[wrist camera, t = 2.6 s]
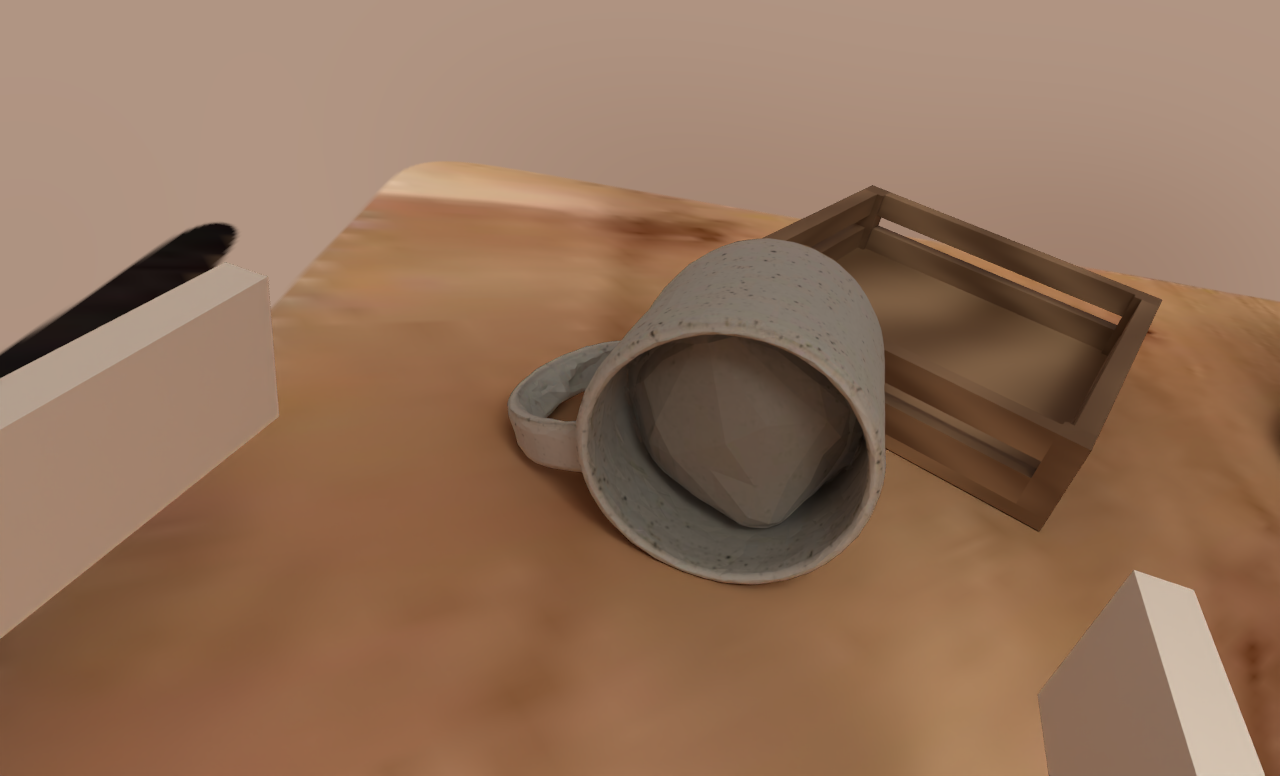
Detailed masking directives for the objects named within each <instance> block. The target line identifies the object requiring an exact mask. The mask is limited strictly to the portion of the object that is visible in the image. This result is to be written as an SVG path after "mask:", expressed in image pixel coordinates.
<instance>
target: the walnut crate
mask: <svg viewBox="0 0 1280 776" xmlns="http://www.w3.org/2000/svg"><path fill="white" fill-rule="evenodd" d="M881 217H882V218H884V219H887V220H889V221H891V222H894V223H896V224H899V225H901V226H903V227H906V228H909V229H911V230H913V231H916V232H918V233H920V234H923V235H925V236H928V237H930V238H933V239H935V240H937V241H940V242H942V243H945V244H947V245H950V246H952V247H954V248H957V249H959V250H962V251H964V252H967V253H969V254H971V255H974V256H976V257H979V258H981V259H984V260H986V261H988V262H991V263H993V264H996V265H998V266H1001V267H1003V268H1005V269H1008V270H1010V271H1013V272H1015V273H1018V274H1020V275H1022V276H1025V277H1027V278H1030V279H1032V280H1035V281H1037V282H1039V283H1042V284H1044V285H1047V286H1049V287H1052V288H1054V289H1056V290H1059V291H1061V292H1064V293H1066V294H1069V295H1071V296H1073V297H1076V298H1078V299H1081V300H1083V301H1086V302H1088V303H1090V304H1093V305H1095V306H1098V307H1100V308H1103V309H1105V310H1107V311H1110V312H1112V313H1115V314H1117V315H1120V316H1122V318H1121V320H1120V322H1119V323H1118V325H1115V324H1113V323H1111V322H1108V321H1106V320H1103V319H1101V318H1099V317H1096V316H1094V315H1091V314H1089V313H1087V312H1084V311H1082V310H1079V309H1077V308H1075V307H1072V306H1070V305H1067V304H1065V303H1063V302H1060V301H1058V300H1055V299H1053V298H1051V297H1048V296H1046V295H1043V294H1041V293H1039V292H1036V291H1034V290H1031V289H1029V288H1027V287H1024V286H1022V285H1020V284H1017V283H1015V282H1012V281H1010V280H1008V279H1005V278H1003V277H1000V276H998V275H996V274H993V273H991V272H988V271H986V270H984V269H981V268H979V267H976V266H974V265H972V264H969V263H967V262H964V261H962V260H960V259H957V258H955V257H952V256H950V255H948V254H945V253H943V252H940V251H938V250H936V249H933V248H931V247H928V246H926V245H924V244H921V243H919V242H916V241H914V240H912V239H909V238H907V237H904V236H902V235H900V234H897V233H895V232H892V231H890V230H888V229H885V228H883V227H880V226H878V225H879V222H880V219H881ZM764 238H771V239H779V240H785V241H790V242H795V243H799V244H803V245H807V246H809V247H811V248H813V249H815V250H817V251H819V252H821V253H823V254H825V255H826V256H828V257H830V258H832V259H834V260H835V261H836V262H837V263H838V264H840V265H841V266H842V267H843V268H844V269H845V270H846V271H847V272H848V273H849V274H850V275H851V276H852V277H853V278H854V279H855V280H856V281H857V282H858V284H859V285H860V287H861V288H862V290H863V291H864V293H865V294H866V296H867V297H868V299H869V301H870V303H871V306H872V308H873V310H874V312H875V314H876V316H877V318H878V321H879V324H880V327H881V330H882V336H883V343H884V357H885V385H884V394H885V448H887V449H888V450H890V451H892V452H894V453H896V454H898V455H900V456H901V457H903V458H905V459H907V460H909V461H911V462H912V463H914V464H916V465H918V466H920V467H922V468H923V469H925V470H927V471H929V472H931V473H933V474H935V475H936V476H938V477H940V478H942V479H944V480H946V481H947V482H949V483H951V484H953V485H955V486H957V487H959V488H960V489H962V490H964V491H966V492H968V493H970V494H971V495H973V496H975V497H977V498H979V499H981V500H982V501H984V502H986V503H988V504H990V505H992V506H994V507H995V508H997V509H999V510H1001V511H1003V512H1005V513H1006V514H1008V515H1010V516H1012V517H1014V518H1016V519H1018V520H1019V521H1021V522H1023V523H1025V524H1027V525H1029V526H1030V527H1032V528H1034V529H1036V530H1038V531H1040V530H1041V528H1042V527H1043V525H1044V524H1045V522H1046V520H1047V519H1048V517H1049V516H1050V514H1051V513H1052V511H1053V510H1054V508H1055V506H1056V505H1057V503H1058V502H1059V500H1060V499H1061V497H1062V496H1063V494H1064V492H1065V491H1066V489H1067V488H1068V486H1069V485H1070V483H1071V482H1072V480H1073V478H1074V477H1075V475H1076V474H1077V472H1078V471H1079V469H1080V468H1081V466H1082V464H1083V463H1084V461H1085V460H1086V458H1087V457H1088V455H1089V454H1090V452H1091V450H1092V448H1093V446H1094V444H1095V442H1096V440H1097V438H1098V436H1099V433H1100V431H1101V429H1102V427H1103V425H1104V423H1105V421H1106V419H1107V416H1108V414H1109V412H1110V410H1111V408H1112V406H1113V404H1114V402H1115V399H1116V397H1117V395H1118V393H1119V391H1120V389H1121V387H1122V385H1123V382H1124V380H1125V378H1126V376H1127V374H1128V372H1129V370H1130V368H1131V365H1132V363H1133V361H1134V359H1135V357H1136V355H1137V353H1138V351H1139V348H1140V346H1141V344H1142V342H1143V340H1144V338H1145V336H1146V333H1147V331H1148V329H1149V327H1150V325H1151V323H1152V321H1153V319H1154V316H1155V314H1156V312H1157V310H1158V308H1159V306H1160V304H1161V302H1162V300H1161V299H1159V298H1156V297H1154V296H1151V295H1149V294H1146V293H1144V292H1141V291H1139V290H1136V289H1134V288H1131V287H1128V286H1126V285H1123V284H1121V283H1118V282H1116V281H1113V280H1111V279H1108V278H1106V277H1103V276H1101V275H1098V274H1096V273H1093V272H1091V271H1088V270H1085V269H1083V268H1080V267H1078V266H1075V265H1073V264H1070V263H1068V262H1065V261H1063V260H1060V259H1058V258H1055V257H1053V256H1050V255H1047V254H1045V253H1042V252H1040V251H1037V250H1035V249H1032V248H1030V247H1027V246H1025V245H1022V244H1020V243H1017V242H1015V241H1012V240H1010V239H1007V238H1005V237H1002V236H1000V235H997V234H994V233H992V232H989V231H987V230H984V229H982V228H979V227H977V226H974V225H971V224H969V223H966V222H964V221H961V220H959V219H956V218H954V217H951V216H949V215H946V214H944V213H941V212H939V211H936V210H934V209H931V208H929V207H926V206H923V205H921V204H919V203H916V202H913V201H911V200H908V199H906V198H903V197H901V196H898V195H896V194H893V193H891V192H888V191H886V190H883V189H880V188H878V187H876V186H873V185H872V186H870V187H868V188H866V189H864V190H862V191H860V192H857V193H855V194H853V195H851V196H849V197H847V198H845V199H843V200H841V201H839V202H837V203H835V204H833V205H831V206H829V207H826V208H824V209H822V210H820V211H818V212H816V213H814V214H812V215H810V216H808V217H806V218H803V219H801V220H799V221H797V222H795V223H793V224H791V225H789V226H787V227H785V228H783V229H781V230H779V231H776V232H774V233H772V234H770V235H768V236H766V237H764ZM762 239H763V238H762Z"/></svg>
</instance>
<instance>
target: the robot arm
mask: <svg viewBox="0 0 1280 776" xmlns="http://www.w3.org/2000/svg"><path fill="white" fill-rule="evenodd" d="M268 284H269V283H268V276H265V275H262V274H259V273H256V272H253V271H250V270H247V269H244V268H241V267H238V266H235V265H233V264H230V263H227V262H225V263H223V264H221V265H219V266H217V267H215V268H213V269H211V270H209V271H207V272H205V273H203V274H201V275H200V276H198V277H196V278H194V279H192V280H190V281H188V282H186V283H184V284H182V285H180V286H178V287H176V288H174V289H172V290H171V291H169V292H167V293H165V294H163V295H161V296H159V297H157V298H155V299H153V300H151V301H149V302H147V303H145V304H143V305H142V306H140V307H138V308H136V309H134V310H132V311H130V312H128V313H126V314H124V315H122V316H120V317H118V318H116V319H114V320H113V321H111V322H109V323H107V324H105V325H103V326H101V327H99V328H97V329H95V330H93V331H91V332H89V333H87V334H85V335H84V336H82V337H80V338H78V339H76V340H74V341H72V342H70V343H68V344H66V345H64V346H62V347H60V348H58V349H56V350H54V351H53V352H51V353H49V354H47V355H45V356H43V357H41V358H39V359H37V360H35V361H33V362H31V363H29V364H27V365H25V366H24V367H22V368H20V369H18V370H16V371H14V372H12V373H10V374H8V375H6V376H4V377H2V378H0V639H1V638H2V637H3V636H4V635H6V634H7V633H8V632H10V631H11V630H12V629H13V628H15V627H16V626H17V625H18V624H20V623H21V622H22V621H23V620H25V619H26V618H27V617H28V616H30V615H31V614H32V613H33V612H35V611H36V610H37V609H38V608H40V607H41V606H42V605H43V604H45V603H46V602H47V601H48V600H50V599H51V598H52V597H53V596H55V595H56V594H57V593H58V592H60V591H61V590H62V589H63V588H65V587H66V586H67V585H68V584H70V583H71V582H72V581H73V580H75V579H76V578H77V577H78V576H80V575H81V574H82V573H83V572H85V571H86V570H87V569H88V568H90V567H91V566H92V565H94V564H95V563H96V562H97V561H99V560H100V559H101V558H102V557H104V556H105V555H106V554H107V553H109V552H110V551H111V550H112V549H114V548H115V547H116V546H117V545H119V544H120V543H121V542H122V541H124V540H125V539H126V538H127V537H129V536H130V535H131V534H132V533H134V532H135V531H136V530H137V529H139V528H140V527H141V526H142V525H144V524H145V523H146V522H147V521H149V520H150V519H151V518H152V517H154V516H155V515H156V514H157V513H159V512H160V511H161V510H162V509H164V508H165V507H166V506H167V505H169V504H170V503H171V502H172V501H174V500H175V499H176V498H178V497H179V496H180V495H181V494H183V493H184V492H185V491H186V490H188V489H189V488H190V487H191V486H193V485H194V484H195V483H196V482H198V481H199V480H200V479H201V478H203V477H204V476H205V475H206V474H208V473H209V472H210V471H211V470H213V469H214V468H215V467H216V466H218V465H219V464H220V463H221V462H223V461H224V460H225V459H226V458H228V457H229V456H230V455H231V454H233V453H234V452H235V451H236V450H238V449H239V448H240V447H241V446H243V445H244V444H245V443H246V442H248V441H249V440H250V439H251V438H253V437H254V436H255V435H256V434H258V433H259V432H260V431H262V430H263V429H264V428H265V427H267V426H268V425H269V424H270V423H272V422H273V421H274V420H275V419H277V418H278V417H279V407H278V395H277V383H276V370H275V358H274V345H273V333H272V321H271V308H270V296H269V285H268ZM1038 701H1039V708H1040V716H1041V723H1042V730H1043V737H1044V745H1045V752H1046V759H1047V767H1048V774H1049V776H1265V774H1264V771H1263V769H1262V766H1261V763H1260V761H1259V758H1258V756H1257V753H1256V750H1255V748H1254V745H1253V743H1252V740H1251V737H1250V735H1249V732H1248V730H1247V727H1246V724H1245V722H1244V719H1243V717H1242V714H1241V711H1240V709H1239V706H1238V704H1237V701H1236V698H1235V696H1234V693H1233V691H1232V688H1231V685H1230V683H1229V680H1228V678H1227V675H1226V672H1225V670H1224V667H1223V664H1222V662H1221V659H1220V657H1219V654H1218V651H1217V649H1216V646H1215V644H1214V641H1213V638H1212V636H1211V633H1210V631H1209V628H1208V625H1207V623H1206V620H1205V618H1204V615H1203V612H1202V610H1201V607H1200V605H1199V602H1198V599H1197V597H1196V594H1195V592H1194V590H1192V589H1189V588H1186V587H1183V586H1180V585H1177V584H1175V583H1172V582H1169V581H1166V580H1163V579H1160V578H1157V577H1154V576H1151V575H1148V574H1145V573H1142V572H1139V571H1136V570H1133V571H1132V573H1131V574H1130V575H1129V577H1128V578H1127V579H1126V580H1125V582H1124V583H1123V584H1122V586H1121V587H1120V588H1119V590H1118V591H1117V592H1116V593H1115V595H1114V596H1113V597H1112V599H1111V600H1110V601H1109V602H1108V604H1107V605H1106V606H1105V608H1104V609H1103V610H1102V612H1101V613H1100V614H1099V615H1098V617H1097V618H1096V619H1095V621H1094V622H1093V623H1092V624H1091V626H1090V627H1089V628H1088V630H1087V631H1086V632H1085V634H1084V635H1083V636H1082V637H1081V639H1080V640H1079V641H1078V643H1077V644H1076V645H1075V647H1074V648H1073V649H1072V650H1071V652H1070V653H1069V654H1068V656H1067V657H1066V658H1065V659H1064V661H1063V662H1062V663H1061V665H1060V666H1059V667H1058V669H1057V670H1056V671H1055V672H1054V674H1053V675H1052V676H1051V678H1050V679H1049V680H1048V681H1047V683H1046V684H1045V685H1044V687H1043V688H1042V689H1041V691H1040V692H1039V693H1038Z"/></svg>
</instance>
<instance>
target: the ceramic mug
mask: <svg viewBox="0 0 1280 776" xmlns="http://www.w3.org/2000/svg"><path fill="white" fill-rule="evenodd" d="M884 385H885V357H884V343H883V336H882V330H881V327H880V324H879V321H878V318H877V316H876V314H875V312H874V310H873V308H872V306H871V303H870V301H869V299H868V297H867V296H866V294H865V293H864V291H863V290H862V288H861V287H860V285H859V284H858V282H857V281H856V280H855V279H854V278H853V277H852V276H851V275H850V274H849V273H848V272H847V271H846V270H845V269H844V268H843V267H842V266H841V265H840V264H838V263H837V262H836V261H835V260H834V259H832V258H830V257H828V256H826V255H825V254H823V253H821V252H819V251H817V250H815V249H813V248H811V247H809V246H807V245H803V244H799V243H795V242H790V241H785V240H779V239H771V238H763V239H752V240H744V241H738V242H734V243H731V244H728V245H725V246H722V247H720V248H718V249H716V250H713V251H711V252H709V253H708V254H706V255H704V256H702V257H701V258H699V259H697V260H696V261H694V262H692V263H691V264H689V265H688V266H687V267H686V268H685V269H684V270H683V271H681V272H680V273H679V274H678V275H677V276H676V277H675V278H674V279H673V280H672V281H671V282H670V283H669V284H668V285H667V286H666V287H665V288H664V290H663V291H662V292H661V294H660V295H659V296H658V298H657V299H656V300H655V302H654V303H653V305H652V306H651V308H650V309H649V310H648V311H647V312H646V313H645V314H644V315H643V316H642V318H641V319H640V320H639V321H638V322H637V323H636V324H635V325H634V326H633V327H632V329H631V330H630V331H629V332H628V333H627V334H626V335H625V337H624V338H623V339H622V340H621V341H611V342H605V343H600V344H596V345H592V346H586V347H584V348H581V349H578V350H576V351H573V352H570V353H567V354H565V355H563V356H560V357H558V358H556V359H554V360H552V361H550V362H548V363H546V364H545V365H543V366H541V367H540V368H538V369H536V370H535V371H534V372H532V373H531V374H530V375H529V376H528V377H526V378H525V379H524V380H523V381H522V382H521V383H520V384H518V385H517V387H516V388H515V389H514V390H513V392H512V393H511V395H510V397H509V400H508V404H507V405H508V415H509V418H510V421H511V424H512V426H513V429H514V431H515V435H516V439H517V443H518V445H519V447H520V448H521V449H522V451H523V452H524V453H525V455H526V456H527V457H528V458H529V459H531V460H532V461H534V462H535V463H536V464H539V465H542V466H545V467H550V468H555V469H561V470H567V471H572V472H582V474H583V476H584V480H585V482H586V484H587V487H588V489H589V491H590V493H591V495H592V497H593V498H594V500H595V502H596V503H597V505H598V506H599V508H600V509H601V511H602V512H603V514H604V515H605V516H606V517H607V518H608V520H609V521H610V522H611V523H612V524H613V525H614V526H615V527H616V528H617V529H618V530H619V531H620V532H621V533H622V534H623V535H624V536H625V537H626V538H627V539H628V540H629V541H630V542H631V543H633V544H635V545H636V546H638V547H639V548H641V549H642V550H644V551H645V552H647V553H648V554H650V555H651V556H653V557H654V558H656V559H658V560H660V561H662V562H664V563H666V564H668V565H670V566H672V567H674V568H676V569H679V570H681V571H683V572H686V573H689V574H693V575H696V576H699V577H703V578H706V579H710V580H714V581H717V582H724V583H736V584H761V583H770V582H777V581H784V580H789V579H792V578H795V577H798V576H800V575H803V574H806V573H809V572H812V571H813V570H815V569H817V568H819V567H821V566H822V565H824V564H826V563H827V562H829V561H830V560H832V559H833V558H834V557H836V556H837V555H839V554H840V553H841V552H842V551H843V550H844V549H845V548H846V547H847V546H848V545H849V544H850V543H852V542H853V541H854V540H855V539H856V538H857V537H858V536H859V534H860V533H861V531H862V529H863V528H864V526H865V525H866V523H867V522H868V520H869V519H870V517H871V515H872V513H873V510H874V508H875V506H876V503H877V501H878V499H879V496H880V493H881V490H882V486H883V483H884V477H885V469H886V455H885V394H884ZM584 391H585V392H584ZM582 392H584V396H583V399H582V402H581V405H580V408H579V412H578V416H577V419H576V421H561V420H556V419H551V418H547V417H548V416H549V415H550V414H551V413H552V412H553V411H554V410H555V409H556V408H557V406H558V405H559V404H560V403H562V402H564V401H566V400H568V399H570V398H571V397H573V396H575V395H577V394H579V393H582Z"/></svg>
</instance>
